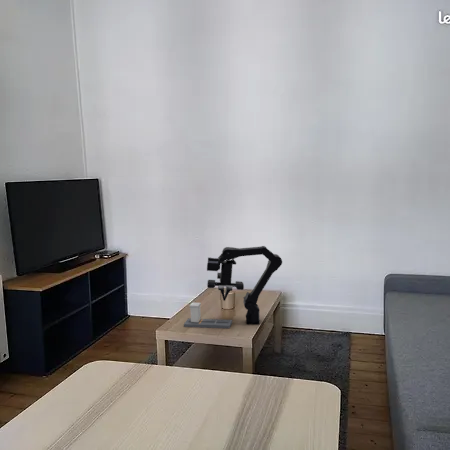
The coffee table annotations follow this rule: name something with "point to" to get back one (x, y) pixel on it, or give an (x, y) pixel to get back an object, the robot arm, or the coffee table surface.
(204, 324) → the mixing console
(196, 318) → the fader knob
